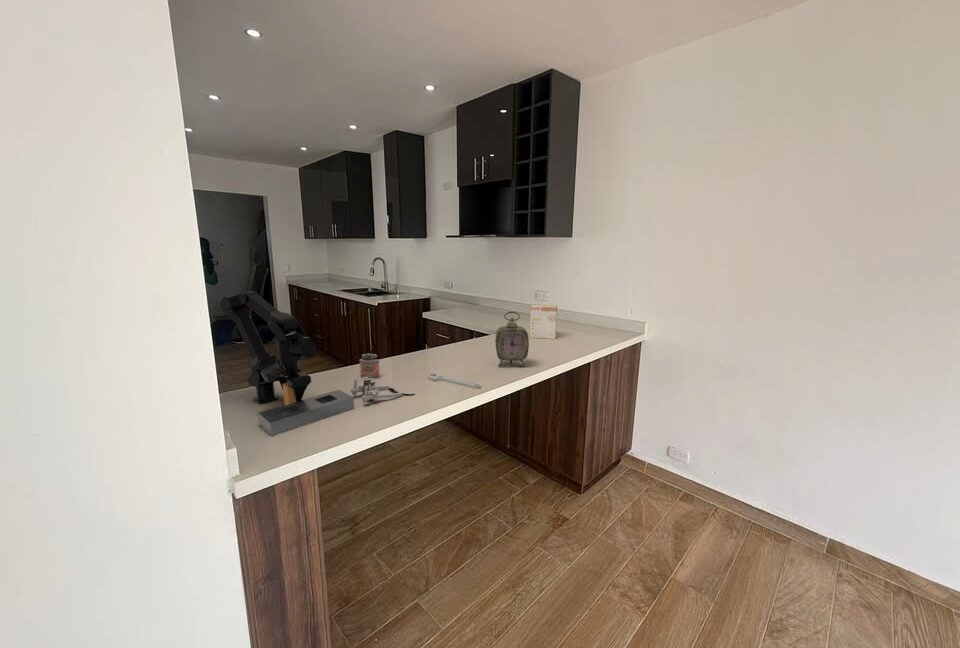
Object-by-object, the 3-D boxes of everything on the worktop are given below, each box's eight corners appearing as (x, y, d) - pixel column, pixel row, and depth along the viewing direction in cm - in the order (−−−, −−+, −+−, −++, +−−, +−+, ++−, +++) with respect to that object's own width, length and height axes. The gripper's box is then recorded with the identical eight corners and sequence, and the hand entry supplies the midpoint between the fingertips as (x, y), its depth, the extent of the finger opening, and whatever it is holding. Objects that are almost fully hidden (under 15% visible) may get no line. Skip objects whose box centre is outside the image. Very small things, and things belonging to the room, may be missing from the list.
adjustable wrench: (482, 388, 149) (482, 384, 148) (472, 393, 144) (472, 389, 143) (434, 375, 163) (434, 371, 163) (424, 379, 158) (423, 375, 158)
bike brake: (363, 406, 129) (415, 400, 142) (365, 387, 128) (417, 382, 141) (348, 395, 139) (397, 390, 152) (349, 377, 138) (399, 374, 151)
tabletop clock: (495, 368, 172) (496, 313, 167) (494, 362, 181) (495, 309, 176) (528, 368, 172) (529, 313, 167) (525, 362, 181) (526, 309, 176)
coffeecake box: (556, 336, 232) (557, 304, 229) (555, 339, 226) (556, 306, 222) (531, 335, 237) (532, 303, 233) (529, 337, 230) (530, 305, 226)
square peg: (284, 406, 131) (282, 383, 129) (296, 402, 134) (294, 380, 132) (289, 409, 128) (287, 386, 127) (301, 405, 131) (299, 383, 129)
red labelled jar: (359, 378, 159) (357, 354, 157) (362, 375, 162) (361, 352, 160) (377, 378, 158) (376, 355, 156) (380, 376, 161) (379, 353, 159)
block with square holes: (259, 425, 117) (257, 412, 116) (339, 400, 136) (338, 389, 135) (271, 435, 110) (270, 422, 109) (354, 408, 129) (353, 397, 128)
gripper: (251, 354, 128) (256, 398, 131) (273, 365, 115) (278, 414, 118) (286, 347, 136) (290, 389, 139) (310, 358, 123) (314, 403, 126)
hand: (292, 399), depth 130 cm, fingers open, 9 cm apart
